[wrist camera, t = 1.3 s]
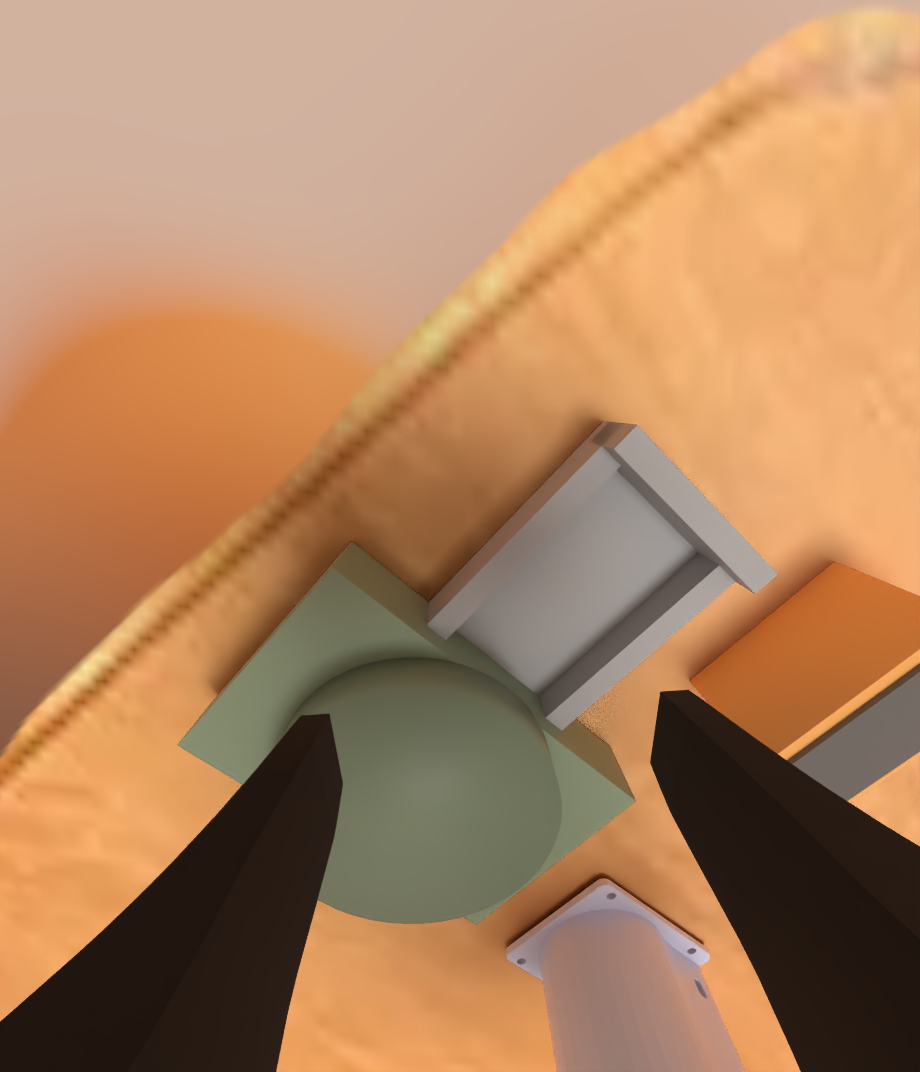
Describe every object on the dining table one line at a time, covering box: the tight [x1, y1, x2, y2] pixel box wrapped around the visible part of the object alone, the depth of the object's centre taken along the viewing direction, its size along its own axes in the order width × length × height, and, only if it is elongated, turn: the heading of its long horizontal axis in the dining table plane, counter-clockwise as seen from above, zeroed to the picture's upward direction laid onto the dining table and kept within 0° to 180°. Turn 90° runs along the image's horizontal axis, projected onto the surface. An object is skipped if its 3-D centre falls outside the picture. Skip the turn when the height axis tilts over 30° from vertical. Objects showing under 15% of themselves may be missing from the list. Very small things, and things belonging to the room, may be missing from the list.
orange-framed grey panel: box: [690, 562, 920, 803], centre depth 17 cm, size 4×8×5 cm, turn 138°
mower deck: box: [178, 421, 778, 925], centre depth 17 cm, size 16×21×5 cm
